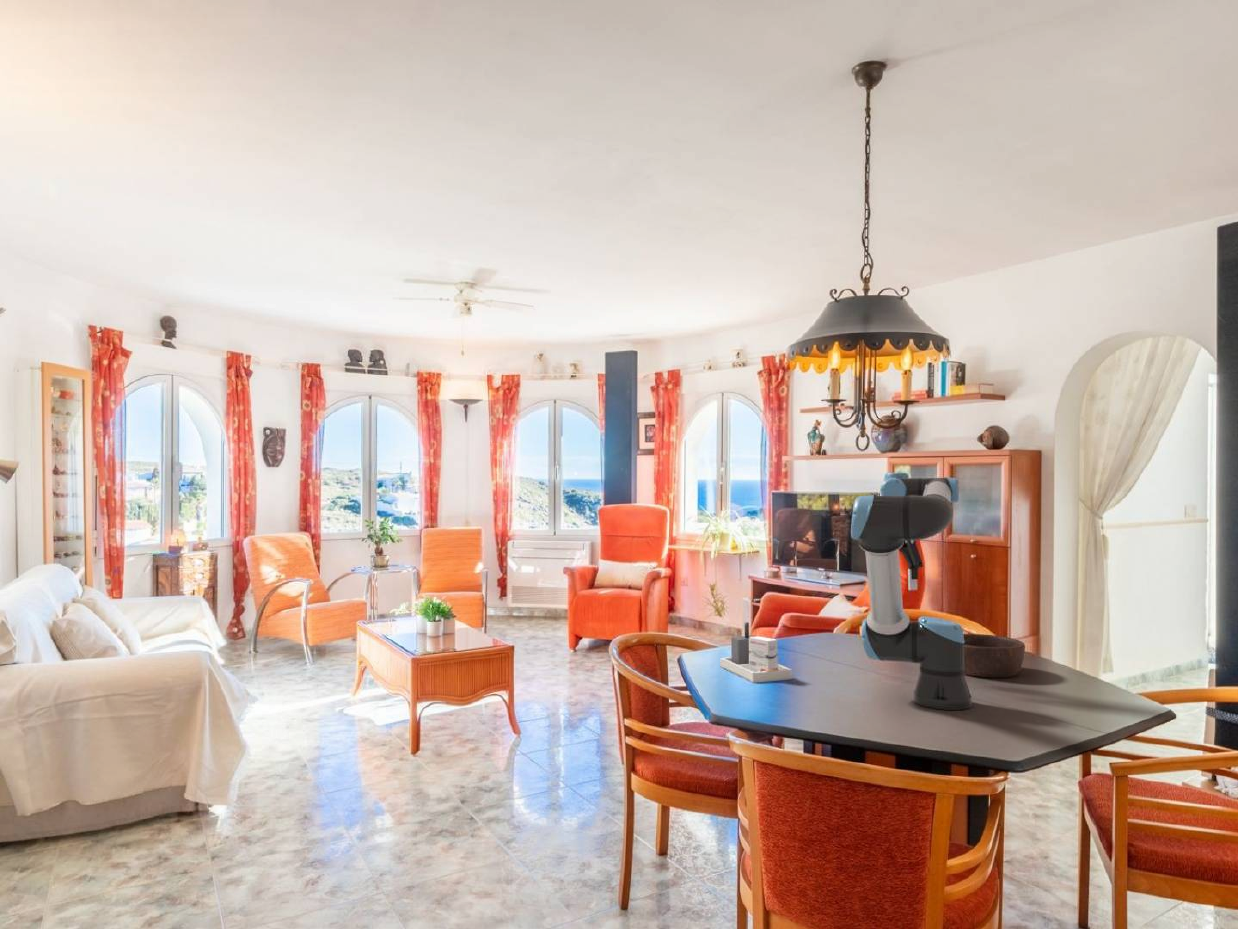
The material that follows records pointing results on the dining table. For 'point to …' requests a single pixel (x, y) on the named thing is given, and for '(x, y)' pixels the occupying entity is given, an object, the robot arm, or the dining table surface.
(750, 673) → the tray
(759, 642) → the ink box
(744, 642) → the grey block with handle
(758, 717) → the dining table surface
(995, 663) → the wooden bowl
